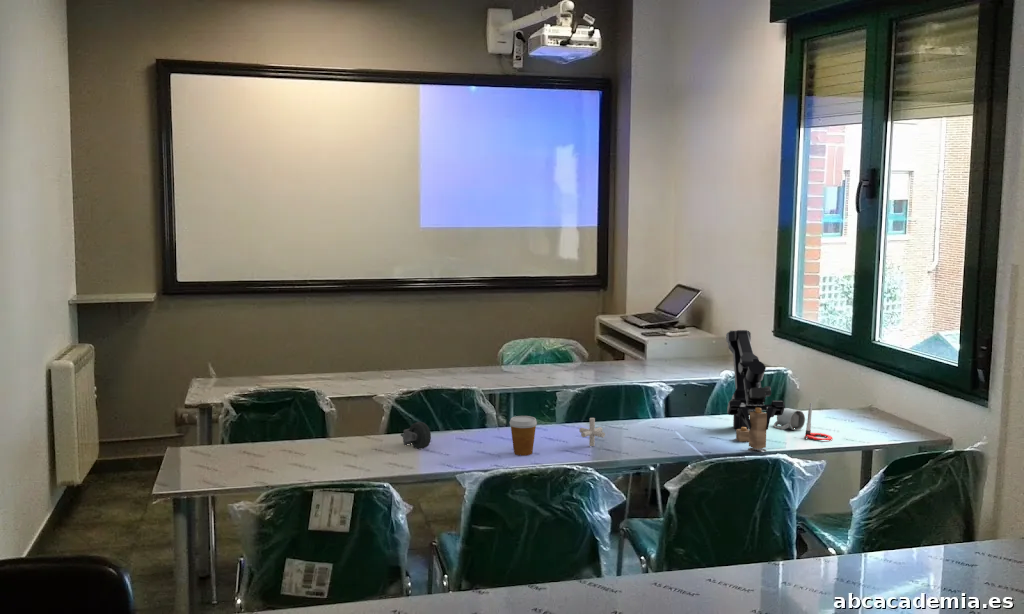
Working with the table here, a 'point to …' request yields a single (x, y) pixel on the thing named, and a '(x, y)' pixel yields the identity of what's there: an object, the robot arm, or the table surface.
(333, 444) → the table surface
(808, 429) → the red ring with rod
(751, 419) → the point post
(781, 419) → the ceramic mug
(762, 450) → the plate
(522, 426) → the disposable coffee cup
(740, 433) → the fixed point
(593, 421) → the pipe connector
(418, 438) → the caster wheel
